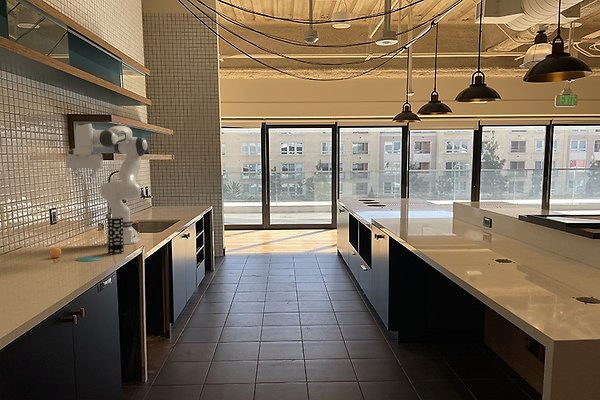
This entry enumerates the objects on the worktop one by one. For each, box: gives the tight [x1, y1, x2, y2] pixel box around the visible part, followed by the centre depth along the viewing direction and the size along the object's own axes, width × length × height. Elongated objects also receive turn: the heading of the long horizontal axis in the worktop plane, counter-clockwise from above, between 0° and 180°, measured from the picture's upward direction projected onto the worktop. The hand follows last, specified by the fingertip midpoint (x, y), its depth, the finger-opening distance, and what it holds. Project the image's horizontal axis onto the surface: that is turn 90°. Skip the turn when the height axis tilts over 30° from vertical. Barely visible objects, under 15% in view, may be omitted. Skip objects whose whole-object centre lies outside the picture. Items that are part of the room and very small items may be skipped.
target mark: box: [75, 255, 104, 263], centre depth 236 cm, size 13×13×1 cm
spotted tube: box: [106, 216, 125, 255], centre depth 252 cm, size 8×8×20 cm
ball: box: [49, 247, 63, 259], centre depth 237 cm, size 6×6×6 cm
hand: (84, 176), depth 248 cm, fingers open, 8 cm apart
